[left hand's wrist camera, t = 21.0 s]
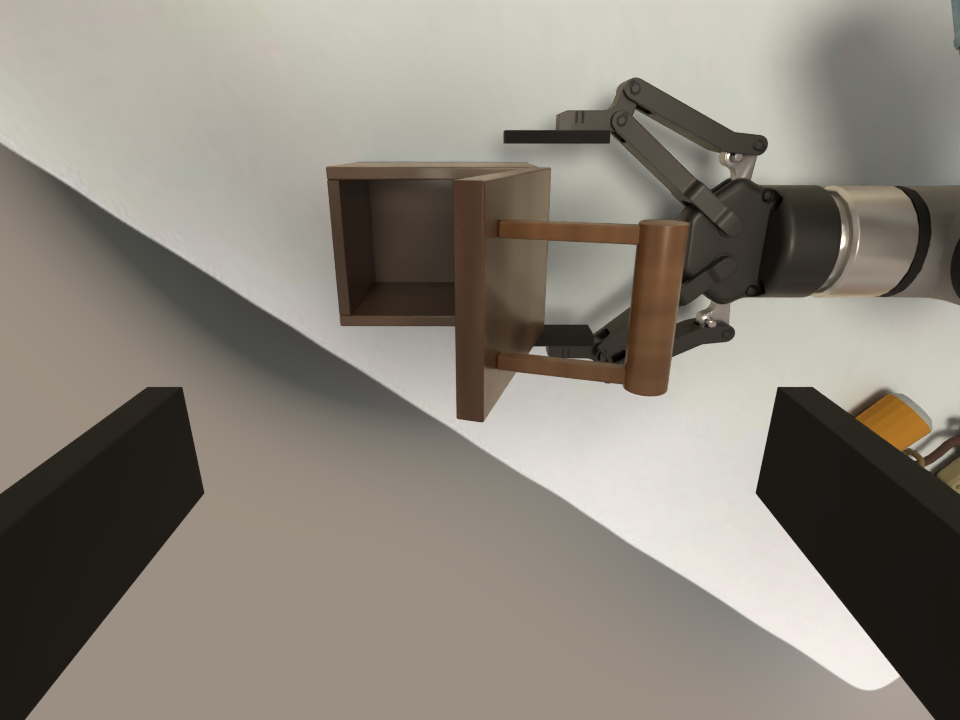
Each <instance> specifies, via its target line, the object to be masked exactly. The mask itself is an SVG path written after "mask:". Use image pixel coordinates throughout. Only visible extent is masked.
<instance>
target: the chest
mask: <svg viewBox="0 0 960 720" xmlns="http://www.w3.org/2000/svg"><path fill="white" fill-rule="evenodd" d="M531 167H537V166H534V165H531V164H529V163H527V162H357V163H350V164H343V165H336V166H329V167H326V172H327V179H328V180H327V183H328V194H329V205H330V216H331V227H332V237H333V248H334V259H335V270H336V281H337V292H338V303H339V313H340V324H341V326H455V273H454V207H453V181H454V180H457V179H463V178H469V177H475V176H481V175H488V174H494V173H500V172H506V171H512V170H518V169H525V168H531Z"/></svg>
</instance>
